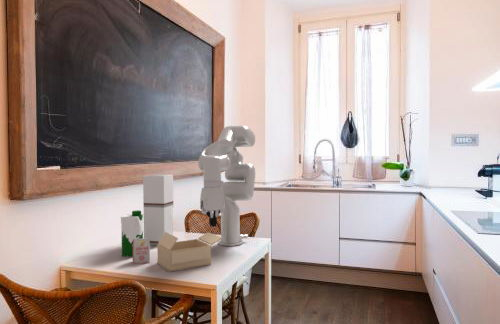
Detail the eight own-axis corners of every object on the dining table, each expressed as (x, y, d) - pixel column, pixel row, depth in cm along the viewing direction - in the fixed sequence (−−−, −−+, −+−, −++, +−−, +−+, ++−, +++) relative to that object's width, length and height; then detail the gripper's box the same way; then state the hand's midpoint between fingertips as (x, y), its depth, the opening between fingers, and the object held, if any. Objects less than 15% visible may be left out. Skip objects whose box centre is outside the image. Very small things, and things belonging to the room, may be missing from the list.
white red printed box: (133, 261, 165) (133, 238, 165) (150, 260, 167) (149, 237, 167) (132, 263, 162) (132, 240, 162) (149, 262, 163) (149, 239, 163)
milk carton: (138, 257, 171) (137, 212, 171) (118, 256, 172) (118, 212, 172) (145, 252, 180) (145, 209, 180) (127, 251, 181) (126, 209, 181)
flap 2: (198, 239, 171) (208, 233, 174) (211, 245, 160) (222, 238, 163) (197, 238, 171) (208, 232, 174) (211, 243, 160) (221, 237, 163)
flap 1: (159, 243, 162) (166, 232, 163) (170, 250, 151) (178, 238, 152) (157, 243, 161) (165, 232, 163) (168, 249, 150) (177, 237, 152)
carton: (196, 256, 172) (196, 238, 172) (211, 264, 159) (211, 245, 159) (157, 262, 162) (156, 244, 162) (170, 272, 150) (169, 251, 149)
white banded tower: (173, 240, 203) (173, 174, 202) (164, 245, 193) (163, 175, 192) (154, 239, 206) (153, 174, 205) (143, 244, 196) (143, 175, 195)
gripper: (223, 182, 174) (224, 222, 176) (192, 184, 167) (193, 226, 168) (231, 184, 168) (232, 225, 169) (200, 186, 160) (201, 230, 161)
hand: (213, 226), depth 168 cm, fingers closed
